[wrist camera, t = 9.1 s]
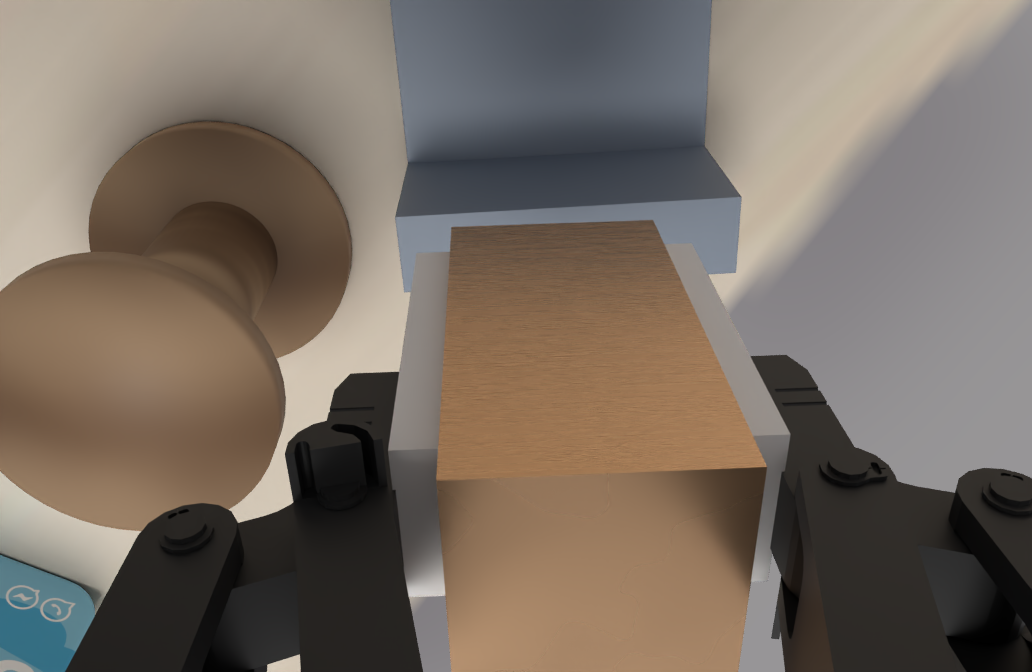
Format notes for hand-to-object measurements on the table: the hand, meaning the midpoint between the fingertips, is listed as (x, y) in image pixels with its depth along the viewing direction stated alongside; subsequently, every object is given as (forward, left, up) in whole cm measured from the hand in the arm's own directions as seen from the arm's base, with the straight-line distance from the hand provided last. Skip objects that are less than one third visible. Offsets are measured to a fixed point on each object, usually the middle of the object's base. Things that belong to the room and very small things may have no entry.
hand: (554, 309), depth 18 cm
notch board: (-2, +1, -14) cm, 15 cm away
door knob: (+4, -11, -14) cm, 19 cm away
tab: (0, 0, 0) cm, 0 cm away
